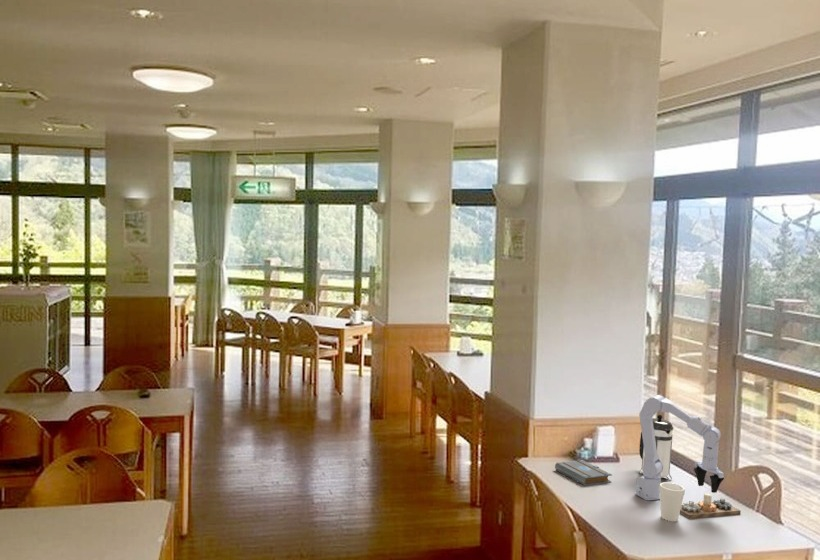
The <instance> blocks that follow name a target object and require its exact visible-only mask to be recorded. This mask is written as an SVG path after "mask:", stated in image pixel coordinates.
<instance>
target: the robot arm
mask: <svg viewBox="0 0 820 560" xmlns="http://www.w3.org/2000/svg"><path fill="white" fill-rule="evenodd" d="M659 411H660V412H661V413H670V414H672V415H674V416H675V417H677V418H678V419H680V420H681V421H683V422H684V423H686V425H687V428H689V429H690V430H691V431H693V432H695V433H696V434H697V435H699V436H700V437H702V439H703V440H704V442H703V450H702V461H695V462H694V468H693V471H694V473H695V476H696V478H697V484H698V485H697V486H699V487H703V486H704V484H705V480H706V475H707V473H710V474H712V475H709V478H710V485H711V487H710V489H711V490H710V491H711V493H714V494H715V493H718V490H719V487H720V485H721V483H722V482H723V481H724V479H725V472H723V471H721V470H720V469H719V467H718V458H719V447H720V446H719V445H720V441H719V440H720V439H721V437H722V433H721V430H720V429H719V428H718V427H717V426H713V425H712V424H709V423H707V422H705V421H704V420H703V419H702V417H700V416H697V415H693V416H691V415H690V414H689V413H687V412H686V411H685V410H683V409H682V408H680V406H678V405H676V404H675V403H673V401H671V400H670V399H669V398H667V397H665V396H663V395H662V394H655V395H654V396H651V397H649V398H648V399H647V400H645V401H644V402H643V406H641V409H640V412H639V422H640V430H641V432H642V437H643V444H644V452H645V457H644V466H643V471H642V474H643V475H641V476H640V477H639V476H638V478H637V480H636V488H635V489H636V490H635V492H634V494H635V495H636V496H638V497H640V498H641V499H643V500H644V501H653V500H654V501H655V500H657V501H658V500H660V491H659V486H660V484H661V483H662V478H661V475H660V472H662V470H663V464H662V462H661V461H660V457H659V455H658V454H657V448H656V441H655V434H654V427H653V420H652V418H653V417H654V416H655V415H656V413H658V412H659Z"/></svg>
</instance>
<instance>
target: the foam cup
mask: <svg viewBox="0 0 820 560" xmlns="http://www.w3.org/2000/svg"><path fill="white" fill-rule="evenodd" d="M659 491H660V499H659V503H660V516H661V519H663V520H664V519H665V521H667V520H668V522H678V520H679V517H680V509H681V505H682V504H683V501H684V496H685V493H686V492H685V491H686V488H685V486H682V484H681V485H680V484H679V483H673V482H661V484H660V486H659Z"/></svg>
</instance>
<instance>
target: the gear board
mask: <svg viewBox="0 0 820 560" xmlns="http://www.w3.org/2000/svg"><path fill="white" fill-rule="evenodd" d="M698 503H699V502H697V503H694V504H695V505H698ZM711 503H713V501H711ZM680 514H681V515H682V516H683V517H685V518H687V519H689V520H690V519H700V518H703V519H704V518H711V517H713V518H714V517H723V516H733V515H732V514H735V515H741V510H740V508H737V507H735V506H731V509H730V510H729V509H727V510H725V509H719V508H718V507H717V508H716V510H715V511H708V510H706V511H705V510H703V509H700V512H696V513H693V512H691V511H690V512H688V511H687V510H683V508H682V505H681V509H680ZM680 514H679V515H680Z"/></svg>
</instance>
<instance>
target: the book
mask: <svg viewBox="0 0 820 560" xmlns="http://www.w3.org/2000/svg"><path fill="white" fill-rule="evenodd" d="M554 469H555V470H556V471H557V472H558V473H560V474H562V475H564V476H566V477H568V478H569V479H571V480H573V481H575V482H577V483H578V484H581V485H583V486H584V487H586V486H591V485H593V486H594V485H601V484H610V483H612V480H610V479H608V477H609V476H613V474H612V473H610V472H607V471H606V470H604V469H601V468H600V467H599V466H597V465H593V464H592V463H589V462H587V461H585V460H583V459H581V460H579V459H577V460H570V461H562V462H559V461H558V462H556V464H555V465H554Z"/></svg>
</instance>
